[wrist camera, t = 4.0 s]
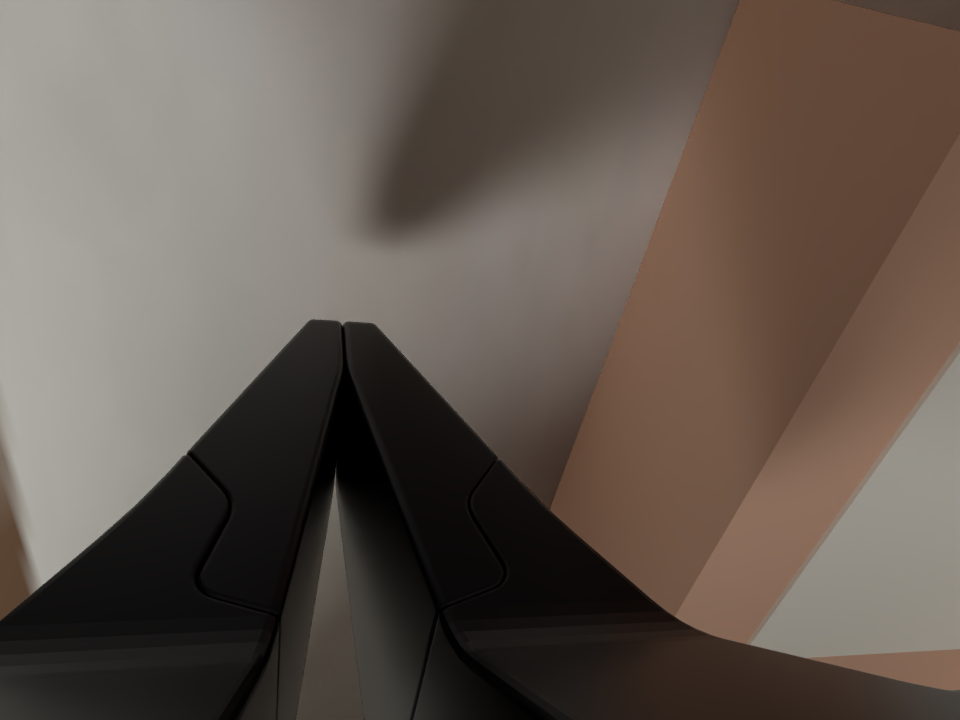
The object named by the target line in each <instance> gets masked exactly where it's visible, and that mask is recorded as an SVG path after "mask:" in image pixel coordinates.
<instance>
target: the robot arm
mask: <svg viewBox="0 0 960 720" xmlns="http://www.w3.org/2000/svg"><path fill="white" fill-rule="evenodd" d="M335 468H336V491H337V502H338V510H339V518H340V527H341V535H342V543H343V551H344V560H345V568H346V576H347V585H348V593H349V601H350V609H351V618H352V626H353V634H354V643H355V651H356V659H357V667H358V676H359V684H360V692H361V701H362V709H363V717H364V720H960V692H957V691H950V690H944V689H938V688H933V687H928V686H923V685H918V684H913V683H908V682H904V681H900V680H896V679H892V678H887V677H883V676H879V675H875V674H870V673H866V672H862V671H858V670H854V669H849V668H845V667H841V666H837V665H833V664H828V663H824V662H820V661H816V660H812V659H807V658H803V657H799V656H795V655H791V654H786V653H782V652H778V651H774V650H769V649H765V648H761V647H757V646H753V645H748V644H744V643H740V642H736V641H732V640H727V639H723V638H720V637H716V636H713V635H710V634H708V633H705V632H703V631H700V630H698V629H696V628H694V627H692V626H690V625H688V624H686V623H684V622H682V621H681V620H679V619H678V618H676V617H675V616H673V615H672V614H670V613H669V612H667V611H666V610H665V609H663V608H662V607H661V606H660V605H658V604H657V603H656V602H655V601H653V600H652V599H651V598H650V597H649V596H648V595H646V594H645V593H644V592H643V591H642V590H641V589H639V588H638V587H637V586H636V585H635V584H634V583H632V582H631V581H630V580H629V579H628V578H627V577H626V576H624V575H623V574H622V573H621V572H620V571H619V570H617V569H616V568H615V567H614V566H613V565H612V564H611V563H609V562H608V561H607V560H606V559H605V558H604V557H602V556H601V555H600V554H599V553H598V552H597V551H595V550H594V549H593V548H592V547H591V546H590V545H589V544H587V543H586V542H585V541H584V540H583V539H582V538H580V537H579V536H578V535H577V534H576V533H575V532H574V531H572V530H571V529H570V528H569V527H568V526H567V525H566V524H565V523H564V522H563V521H561V520H560V519H559V518H558V517H557V516H556V515H555V514H554V513H553V512H552V511H550V510H549V509H548V508H547V507H546V506H545V505H544V504H543V503H542V502H541V501H540V500H539V499H538V498H537V497H536V496H535V495H534V494H533V493H532V492H531V491H530V490H529V489H528V488H527V487H526V486H525V485H524V484H523V483H522V482H521V481H520V480H519V479H518V478H517V477H516V476H515V475H514V474H513V472H512V471H511V470H510V469H509V468H508V467H507V466H506V465H505V464H504V463H503V462H502V461H501V460H498V457H497V456H496V454H495V453H494V452H493V451H492V450H491V449H490V448H489V447H488V446H487V445H486V444H485V443H484V442H483V440H482V439H481V438H480V437H479V436H478V435H477V434H476V433H475V432H474V431H473V430H472V429H471V427H470V426H469V425H468V424H467V423H466V422H465V421H464V420H463V419H462V418H461V417H460V416H459V415H458V413H457V412H456V411H455V410H454V409H453V408H452V407H451V406H450V405H449V404H448V403H447V402H446V401H445V399H444V398H443V397H442V396H441V395H440V394H439V393H438V392H437V391H436V390H435V389H434V388H433V386H432V385H431V384H430V383H429V382H428V381H427V380H426V379H425V378H424V377H423V376H422V375H421V374H420V372H419V371H418V370H417V369H416V368H415V367H414V366H413V365H412V364H411V363H410V362H409V361H408V359H407V358H406V357H405V356H404V355H403V354H402V353H401V352H400V351H399V350H398V349H397V348H396V347H395V345H394V344H393V343H392V342H391V341H390V340H389V339H388V338H387V337H386V336H385V335H384V334H383V333H382V331H381V330H380V329H379V328H378V327H377V326H376V325H375V324H373V323H363V322H346V323H344V324H343V326H342V325H341V323H340V322H339V321H332V320H316V319H312V320H310V321H308V322H307V323H306V324H305V325H304V327H303V328H302V329H301V330H300V331H299V332H298V333H297V334H296V335H295V336H294V337H293V338H292V340H291V341H290V342H289V343H288V344H287V345H286V346H285V347H284V348H283V349H282V350H281V351H280V353H279V354H278V355H277V356H276V357H275V358H274V359H273V360H272V361H271V362H270V363H269V364H268V365H267V367H266V368H265V369H264V370H263V371H262V372H261V373H260V374H259V375H258V376H257V377H256V378H255V380H254V381H253V382H252V383H251V384H250V385H249V386H248V387H247V388H246V389H245V390H244V391H243V393H242V394H241V395H240V396H239V397H238V398H237V399H236V400H235V401H234V402H233V403H232V404H231V405H230V407H229V408H228V409H227V410H226V411H225V412H224V413H223V414H222V415H221V416H220V417H219V418H218V420H217V421H216V422H215V423H214V424H213V425H212V426H211V427H210V428H209V429H208V430H207V431H206V432H205V434H204V435H203V436H202V437H201V438H200V439H199V440H198V441H197V442H196V443H195V444H194V445H193V447H192V448H191V449H190V450H189V451H188V452H187V455H185V456H183V457H182V458H181V459H180V460H179V461H178V462H177V463H176V464H175V466H174V467H173V468H172V469H171V470H170V471H169V472H168V473H167V474H166V475H165V476H164V477H163V478H162V479H161V480H160V481H159V482H158V483H157V484H156V485H155V486H154V487H153V488H152V489H151V490H150V491H149V492H148V493H147V494H146V495H145V496H144V497H143V498H142V499H141V500H140V501H139V502H138V503H137V504H136V505H135V506H134V507H133V508H132V509H131V510H130V511H129V512H127V513H126V514H125V515H124V516H123V517H122V518H121V519H120V520H118V521H117V522H116V523H115V524H114V525H113V526H112V527H111V528H109V529H108V530H107V531H106V532H105V533H104V534H103V535H102V536H100V537H99V538H98V539H97V540H96V541H95V542H93V543H92V544H91V545H90V546H89V547H87V548H86V549H85V550H84V551H83V552H82V553H80V554H79V555H78V556H77V557H76V558H74V559H73V560H72V561H71V562H70V563H68V564H67V565H66V566H65V567H64V568H62V569H61V570H60V571H59V572H58V573H57V574H55V575H54V576H53V577H52V578H51V579H49V580H48V581H47V582H46V583H45V584H43V585H42V586H41V587H40V588H39V589H38V590H36V591H35V592H34V593H33V594H32V595H30V596H29V597H28V598H27V599H26V600H24V601H23V602H22V603H21V604H20V605H18V606H17V607H16V608H15V609H14V610H13V611H11V612H10V613H9V614H8V615H7V616H6V617H4V618H3V619H2V620H1V621H0V720H296V715H297V709H298V703H299V697H300V691H301V685H302V679H303V673H304V666H305V660H306V654H307V648H308V642H309V636H310V630H311V624H312V618H313V612H314V606H315V600H316V594H317V588H318V581H319V575H320V569H321V563H322V557H323V551H324V545H325V539H326V533H327V527H328V521H329V515H330V509H331V503H332V496H333V488H334V479H335Z"/></svg>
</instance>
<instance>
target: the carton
mask: <svg viewBox="0 0 960 720" xmlns="http://www.w3.org/2000/svg"><path fill="white" fill-rule="evenodd" d="M550 511H552V512H553V513H554V514H555V515H556V516H557V517H558V518H559V519H560V520H561V521H563V522H564V523H565V524H566V525H567V526H568V527H569V528H570V529H571V530H572V531H574V532H575V533H576V534H577V535H578V536H579V537H580V538H582V539H583V540H584V541H585V542H586V543H587V544H589V545H590V546H591V547H592V548H593V549H594V550H595V551H597V552H598V553H599V554H600V555H601V556H602V557H604V558H605V559H606V560H607V561H608V562H609V563H611V564H612V565H613V566H614V567H615V568H616V569H617V570H619V571H620V572H621V573H622V574H623V575H624V576H626V577H627V578H628V579H629V580H630V581H631V582H632V583H634V584H635V585H636V586H637V587H638V588H639V589H641V590H642V591H643V592H644V593H645V594H646V595H648V596H649V597H650V598H651V599H652V600H653V601H655V602H656V603H657V604H658V605H660V606H661V607H662V608H663V609H665V610H666V611H667V612H669V613H670V614H672V615H673V616H675V617H676V618H678V619H679V620H681V621H682V622H684V623H686V624H688V625H690V626H692V627H694V628H696V629H698V630H700V631H703V632H705V633H708V634H710V635H713V636H716V637H720V638H723V639H727V640H732V641H736V642H740V643H744V644H748V645H753V646H757V647H761V648H765V649H769V650H774V651H778V652H782V653H786V654H791V655H795V656H799V657H803V658H807V659H812V660H816V661H820V662H824V663H828V664H833V665H837V666H841V667H845V668H849V669H854V670H858V671H862V672H866V673H870V674H875V675H879V676H883V677H887V678H892V679H896V680H900V681H904V682H908V683H913V684H918V685H923V686H928V687H933V688H938V689H944V690H960V32H959V31H955V30H951V29H947V28H943V27H939V26H935V25H931V24H927V23H923V22H919V21H915V20H911V19H907V18H903V17H899V16H895V15H891V14H887V13H883V12H879V11H875V10H871V9H867V8H862V7H858V6H854V5H850V4H846V3H842V2H838V1H834V0H740V1H739V3H738V6H737V9H736V11H735V14H734V17H733V20H732V22H731V25H730V28H729V30H728V33H727V36H726V38H725V41H724V44H723V46H722V49H721V52H720V54H719V57H718V60H717V62H716V65H715V68H714V70H713V73H712V76H711V78H710V81H709V84H708V86H707V89H706V92H705V95H704V97H703V100H702V103H701V105H700V108H699V111H698V113H697V116H696V119H695V121H694V124H693V127H692V129H691V132H690V135H689V137H688V140H687V143H686V145H685V148H684V151H683V153H682V156H681V159H680V162H679V164H678V167H677V170H676V172H675V175H674V178H673V180H672V183H671V186H670V188H669V191H668V194H667V196H666V199H665V202H664V204H663V207H662V210H661V212H660V215H659V218H658V220H657V223H656V226H655V229H654V231H653V234H652V237H651V239H650V242H649V245H648V247H647V250H646V253H645V255H644V258H643V261H642V263H641V266H640V269H639V271H638V274H637V277H636V279H635V282H634V285H633V287H632V290H631V293H630V296H629V298H628V301H627V304H626V306H625V309H624V312H623V314H622V317H621V320H620V322H619V325H618V328H617V330H616V333H615V336H614V338H613V341H612V344H611V346H610V349H609V352H608V354H607V357H606V360H605V363H604V365H603V368H602V371H601V373H600V376H599V379H598V381H597V384H596V387H595V389H594V392H593V395H592V397H591V400H590V403H589V405H588V408H587V411H586V413H585V416H584V419H583V421H582V424H581V427H580V430H579V432H578V435H577V438H576V440H575V443H574V446H573V448H572V451H571V454H570V456H569V459H568V462H567V464H566V467H565V470H564V472H563V475H562V478H561V480H560V483H559V486H558V488H557V491H556V494H555V497H554V499H553V502H552V505H551V507H550Z"/></svg>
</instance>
